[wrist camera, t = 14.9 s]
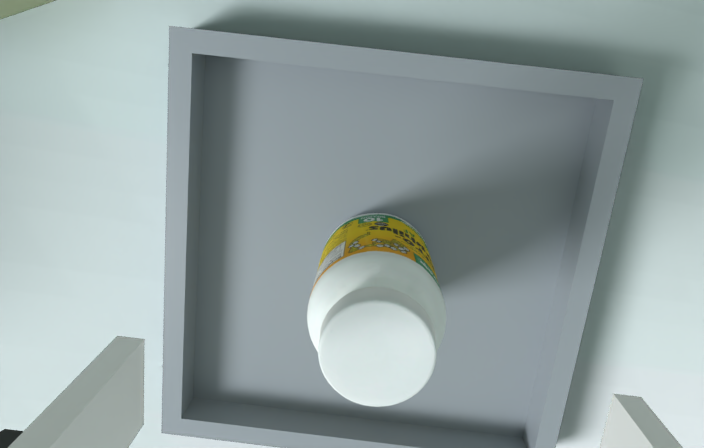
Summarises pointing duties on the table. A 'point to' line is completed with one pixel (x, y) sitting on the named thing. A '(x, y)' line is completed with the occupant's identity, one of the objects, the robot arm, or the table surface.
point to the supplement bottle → (376, 310)
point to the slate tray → (390, 198)
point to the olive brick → (19, 6)
